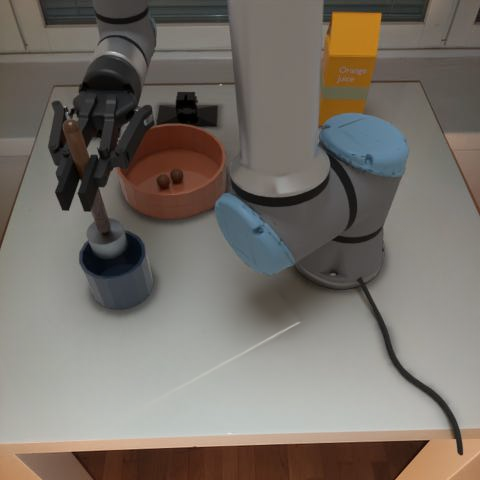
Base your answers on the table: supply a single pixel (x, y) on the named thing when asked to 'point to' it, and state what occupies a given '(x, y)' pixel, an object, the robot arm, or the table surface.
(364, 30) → the orange juice
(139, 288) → the crock
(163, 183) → the meatball
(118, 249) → the ladle
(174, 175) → the meatball
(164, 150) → the bowl
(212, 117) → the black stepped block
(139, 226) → the table surface
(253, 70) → the robot arm
